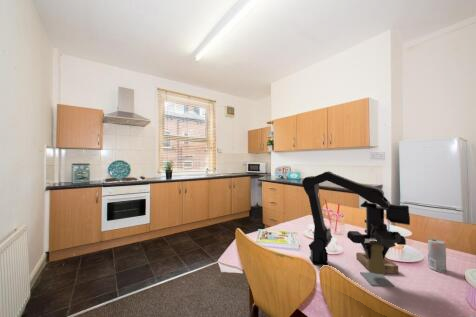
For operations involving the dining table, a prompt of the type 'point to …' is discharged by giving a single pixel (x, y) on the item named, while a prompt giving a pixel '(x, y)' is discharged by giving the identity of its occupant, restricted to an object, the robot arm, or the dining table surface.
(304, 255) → the dining table surface
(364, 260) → the walnut frame
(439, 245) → the energy drink
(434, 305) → the dining table surface
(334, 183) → the robot arm
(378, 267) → the cork
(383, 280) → the rubber mat
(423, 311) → the dining table surface
